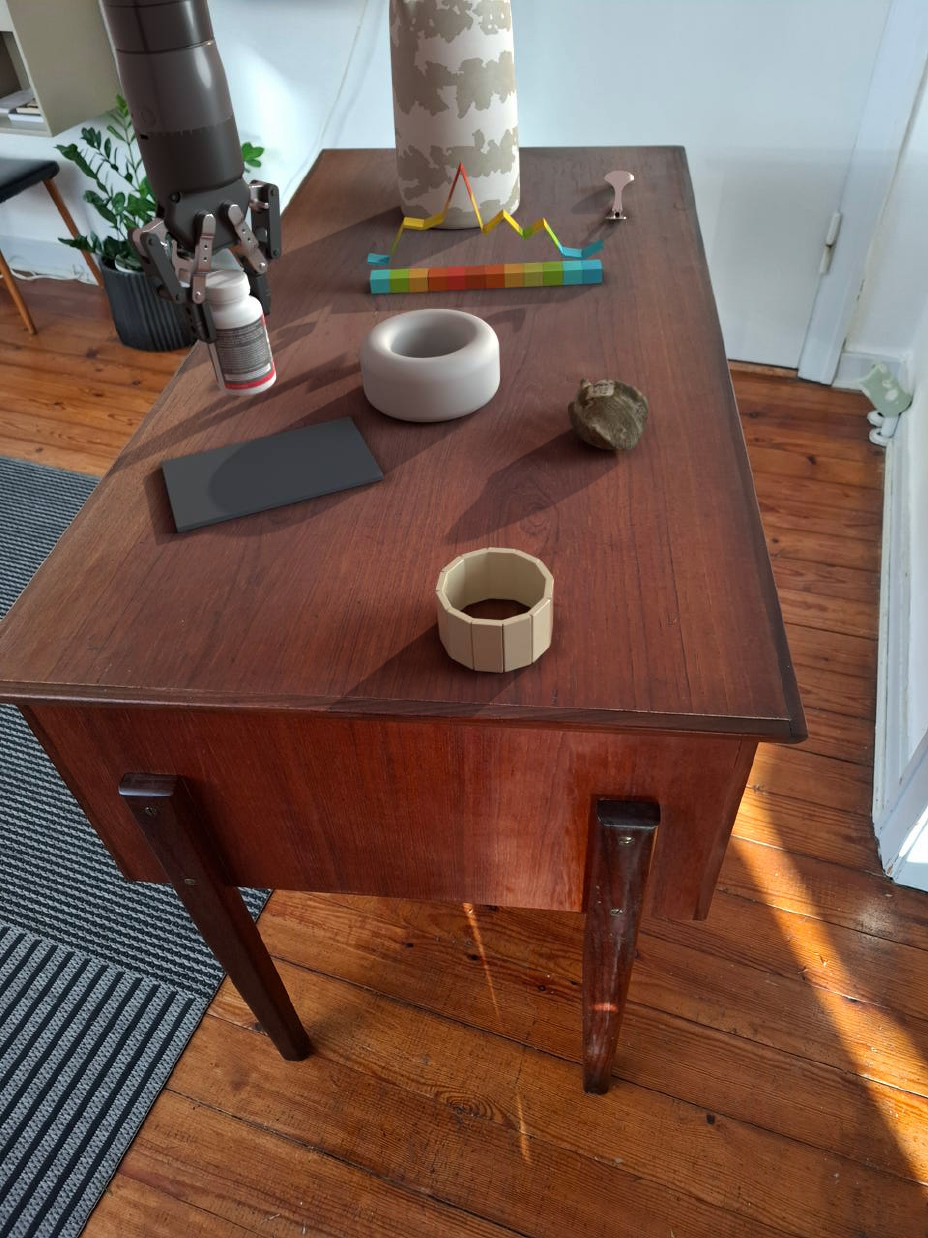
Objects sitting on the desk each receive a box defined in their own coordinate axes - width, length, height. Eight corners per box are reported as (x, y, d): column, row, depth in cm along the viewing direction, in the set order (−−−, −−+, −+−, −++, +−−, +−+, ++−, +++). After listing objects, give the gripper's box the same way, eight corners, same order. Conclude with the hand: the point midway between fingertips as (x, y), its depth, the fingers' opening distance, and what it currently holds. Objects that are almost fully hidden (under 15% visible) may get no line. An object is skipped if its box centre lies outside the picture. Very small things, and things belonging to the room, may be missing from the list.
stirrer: (635, 202, 126) (601, 202, 127) (633, 228, 128) (600, 228, 129) (634, 165, 141) (604, 165, 142) (633, 189, 143) (603, 189, 144)
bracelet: (464, 685, 67) (460, 638, 63) (426, 612, 73) (420, 565, 70) (570, 651, 69) (572, 604, 65) (524, 582, 75) (524, 536, 72)
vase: (454, 180, 149) (438, -115, 123) (544, 201, 140) (546, -113, 113) (369, 218, 138) (330, -96, 112) (459, 243, 129) (440, -93, 103)
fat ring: (438, 345, 107) (434, 291, 102) (528, 388, 98) (528, 331, 94) (338, 393, 100) (328, 337, 95) (425, 443, 91) (419, 384, 87)
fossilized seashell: (571, 381, 94) (547, 446, 88) (604, 339, 88) (582, 405, 83) (630, 418, 95) (611, 483, 90) (667, 378, 90) (648, 445, 84)
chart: (599, 272, 119) (605, 151, 109) (601, 282, 117) (608, 159, 107) (373, 283, 121) (358, 164, 110) (371, 293, 118) (356, 173, 108)
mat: (178, 533, 83) (176, 527, 82) (162, 466, 91) (160, 461, 90) (383, 479, 87) (383, 474, 87) (350, 420, 95) (350, 415, 95)
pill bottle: (289, 378, 82) (268, 273, 75) (246, 403, 79) (220, 296, 72) (249, 363, 85) (225, 260, 78) (206, 387, 82) (177, 282, 75)
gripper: (224, 84, 72) (266, 288, 84) (70, 130, 65) (141, 348, 76) (287, 95, 69) (322, 307, 80) (132, 146, 61) (196, 372, 73)
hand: (233, 326), depth 78 cm, fingers closed on pill bottle, 5 cm apart
